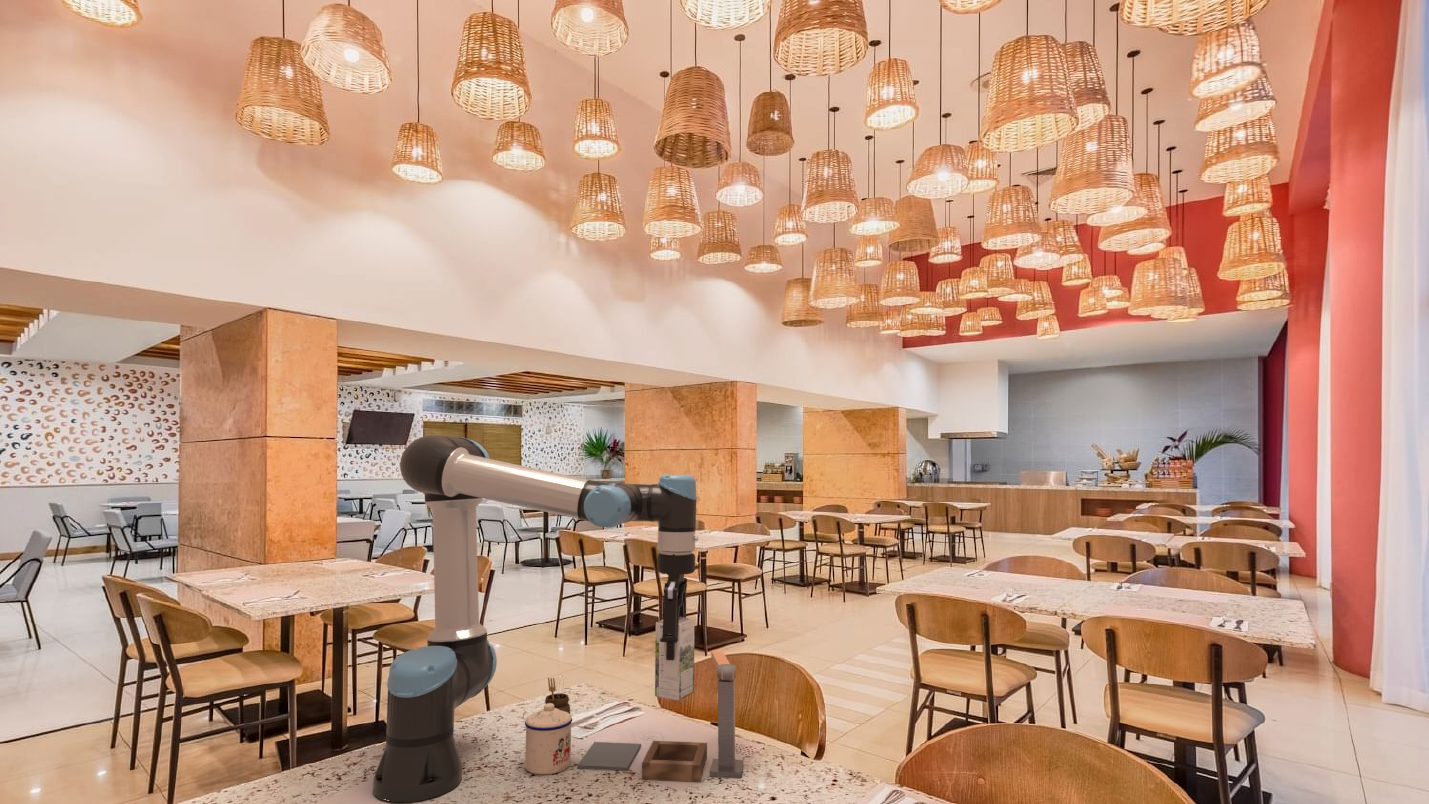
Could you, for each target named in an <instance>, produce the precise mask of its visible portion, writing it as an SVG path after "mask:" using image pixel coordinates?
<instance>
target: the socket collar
mask: <svg viewBox="0 0 1429 804" xmlns="http://www.w3.org/2000/svg"><path fill="white" fill-rule="evenodd" d="M707 759H708V742H699V741H698V742H697V741H696V742H694V741H693V742H692V741H674V740H673V741H669V740H667V741H666V740H652V742H651V744H650V745H649V748H648V750H647V752H646V754H645V756H644V757H643V760H642V761H641V780H647V781H648V780H649V781H663V782H665V781H666V782H668V781H669V782H687V783H689V782H690V783H701V780H702V776H703V773H704V770H705V766H706V763H707Z"/></svg>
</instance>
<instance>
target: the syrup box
mask: <svg viewBox="0 0 1429 804" xmlns="http://www.w3.org/2000/svg"><path fill="white" fill-rule="evenodd" d="M669 635H672V634H669ZM662 636H663V619H661V620H659V621H656V622H655V643H654V644H655V647H654V648H655V650H654V651H655V656H654V658H655V661H654V662H655V664H654V668H655V669H654V671H655V674H654V696H655V697H656V698H661V699H667V700H674V701H681V700H683V699H685V698H687V697H688V696H690V695H692V694H694V692H695V620H694V619H693V618H688V617H686V618H685V617H679V624H678V641H679V650H678V677H663V671H664V642H660V638H662Z"/></svg>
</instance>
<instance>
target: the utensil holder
mask: <svg viewBox="0 0 1429 804" xmlns="http://www.w3.org/2000/svg"><path fill="white" fill-rule="evenodd" d="M559 679H560V676H558V677H557V681H558V680H559ZM562 679H563V684H562V687H564V684H565V679H567V678H566V676H564V675H563V677H562ZM547 681H548V682H547V683H548V691H549V692H550V693H551V694H548V695H547V696H546V697H545V699H544V704H548V703H552V704H554V708H557V709H559V710H561V711H565V712H568V713H569V714H570V715H571V706H570V705H571V704H569V701H570V697H569V695H568V694H566V693H564V692H563V691H564V689H562V690H561V692H558V689H557V687H560V685H561V684H560V683H561V681H558V683H559V685H558V683H556V681H555V678H554V677H553V678H552V677H548V678H547ZM555 692H556V693H555Z"/></svg>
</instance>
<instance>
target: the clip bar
mask: <svg viewBox="0 0 1429 804" xmlns="http://www.w3.org/2000/svg"><path fill="white" fill-rule="evenodd" d="M710 653H711V654H710V655H711V661H712V662H713V665H714V666H715V669H716V671H717V676H716V677H717V679H718V680H719V679H722V680H731V679H735V680H736V677H737V666H736V665H735V664H732V663H730V661H729V660H728V658H727V656H726V654H725V653H724V651H723V650H718V649H717V650H711V652H710Z"/></svg>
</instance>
